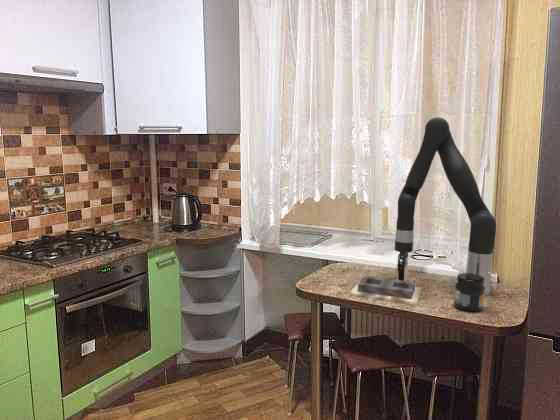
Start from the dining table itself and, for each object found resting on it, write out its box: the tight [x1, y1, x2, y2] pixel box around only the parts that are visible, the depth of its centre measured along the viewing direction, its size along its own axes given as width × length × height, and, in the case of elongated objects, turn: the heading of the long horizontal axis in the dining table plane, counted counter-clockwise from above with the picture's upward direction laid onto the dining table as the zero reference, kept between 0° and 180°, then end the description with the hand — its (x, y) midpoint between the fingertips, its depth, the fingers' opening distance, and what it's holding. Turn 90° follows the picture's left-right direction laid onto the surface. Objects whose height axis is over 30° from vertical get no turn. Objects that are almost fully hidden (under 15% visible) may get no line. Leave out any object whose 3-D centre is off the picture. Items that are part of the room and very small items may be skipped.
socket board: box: [349, 275, 423, 306], centre depth 195 cm, size 26×18×4 cm
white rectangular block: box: [395, 262, 409, 281], centre depth 206 cm, size 4×4×9 cm
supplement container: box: [453, 272, 485, 312], centre depth 180 cm, size 10×10×12 cm
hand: (401, 278), depth 206 cm, fingers closed on white rectangular block, 4 cm apart
